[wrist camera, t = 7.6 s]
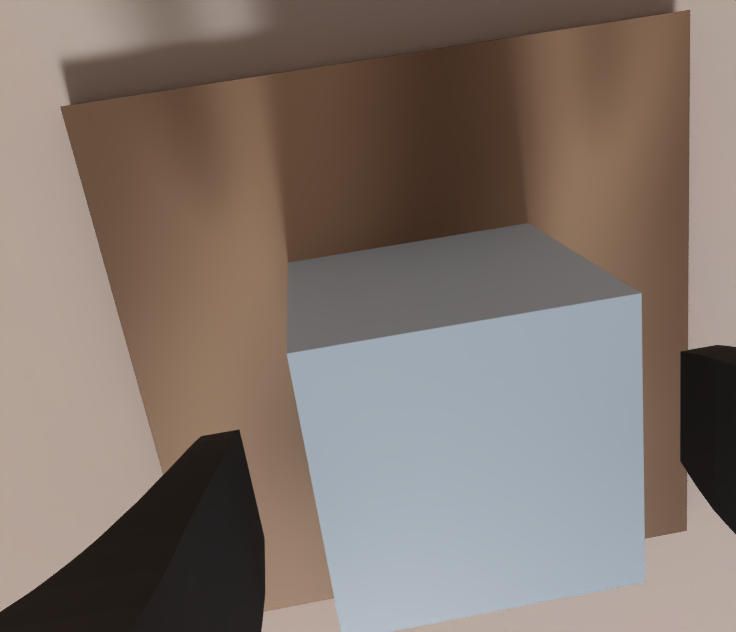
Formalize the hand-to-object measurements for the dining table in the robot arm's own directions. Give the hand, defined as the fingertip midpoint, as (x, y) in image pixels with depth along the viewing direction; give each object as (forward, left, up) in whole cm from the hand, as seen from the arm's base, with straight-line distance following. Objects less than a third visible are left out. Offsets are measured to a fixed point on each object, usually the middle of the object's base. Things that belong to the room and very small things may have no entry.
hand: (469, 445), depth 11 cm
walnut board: (0, 0, -5) cm, 5 cm away
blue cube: (0, 0, -4) cm, 4 cm away
